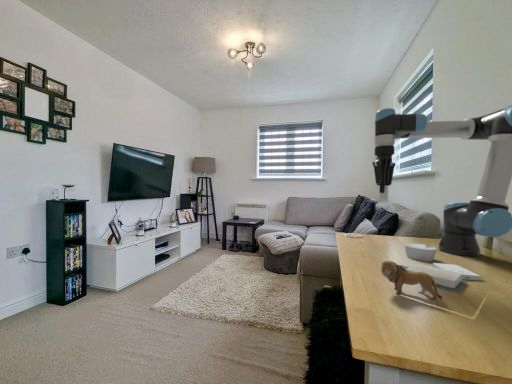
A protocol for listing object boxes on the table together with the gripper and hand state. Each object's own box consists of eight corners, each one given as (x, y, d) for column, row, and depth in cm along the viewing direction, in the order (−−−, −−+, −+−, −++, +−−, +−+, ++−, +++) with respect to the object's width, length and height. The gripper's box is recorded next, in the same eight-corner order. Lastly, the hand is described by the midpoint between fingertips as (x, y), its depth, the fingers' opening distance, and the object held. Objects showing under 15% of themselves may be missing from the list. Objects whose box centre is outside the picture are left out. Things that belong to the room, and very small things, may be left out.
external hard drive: (457, 269, 88) (482, 281, 75) (432, 267, 89) (453, 278, 77) (457, 264, 88) (482, 275, 75) (432, 262, 89) (453, 273, 77)
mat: (398, 266, 90) (398, 264, 90) (468, 282, 75) (468, 281, 75) (382, 274, 82) (382, 272, 82) (457, 294, 66) (457, 293, 66)
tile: (416, 263, 84) (462, 273, 75) (416, 270, 84) (462, 281, 75) (405, 269, 78) (454, 281, 68) (405, 276, 78) (454, 289, 68)
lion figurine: (382, 295, 66) (383, 262, 66) (378, 287, 71) (379, 257, 71) (446, 303, 61) (446, 268, 61) (437, 294, 66) (438, 262, 66)
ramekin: (443, 262, 96) (443, 249, 95) (415, 262, 96) (415, 249, 96) (424, 255, 107) (424, 243, 107) (399, 254, 107) (399, 243, 107)
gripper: (385, 148, 109) (384, 199, 109) (367, 146, 103) (366, 200, 103) (402, 146, 102) (401, 200, 103) (383, 143, 96) (382, 201, 97)
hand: (383, 200), depth 103 cm, fingers closed
